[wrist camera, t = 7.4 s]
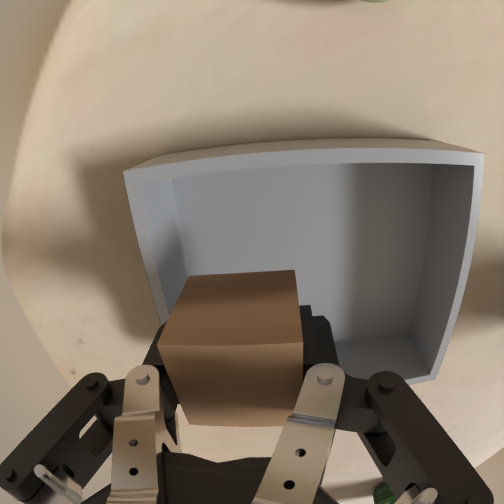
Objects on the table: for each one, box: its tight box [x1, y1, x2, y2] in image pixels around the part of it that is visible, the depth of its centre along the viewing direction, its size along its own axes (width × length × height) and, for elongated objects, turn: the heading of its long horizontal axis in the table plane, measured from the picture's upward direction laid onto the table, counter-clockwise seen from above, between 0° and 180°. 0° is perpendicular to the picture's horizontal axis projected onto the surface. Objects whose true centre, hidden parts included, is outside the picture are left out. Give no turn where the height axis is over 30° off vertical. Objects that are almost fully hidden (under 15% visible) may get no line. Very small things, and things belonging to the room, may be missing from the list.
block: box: [157, 270, 303, 427], centre depth 12 cm, size 4×4×4 cm
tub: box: [123, 138, 484, 385], centre depth 16 cm, size 14×16×5 cm
